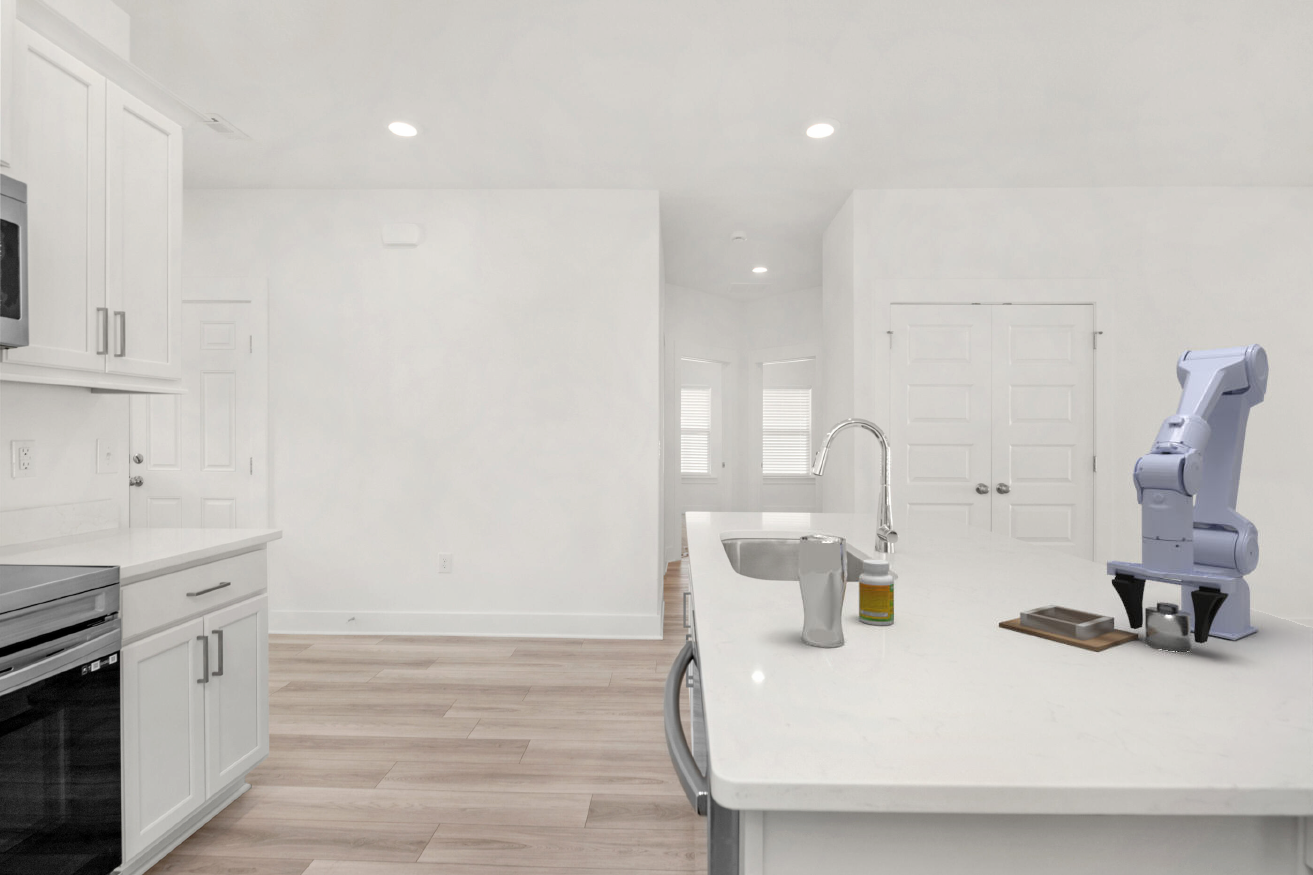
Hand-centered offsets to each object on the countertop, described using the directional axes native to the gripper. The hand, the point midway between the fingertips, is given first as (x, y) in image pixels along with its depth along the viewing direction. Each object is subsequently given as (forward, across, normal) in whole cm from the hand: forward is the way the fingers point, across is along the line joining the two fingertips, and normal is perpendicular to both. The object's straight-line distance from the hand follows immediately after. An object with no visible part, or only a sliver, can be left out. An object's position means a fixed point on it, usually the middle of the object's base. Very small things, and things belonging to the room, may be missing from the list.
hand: (1167, 634), depth 91 cm
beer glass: (+2, -27, -40) cm, 48 cm away
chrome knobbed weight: (+2, 0, 0) cm, 2 cm away
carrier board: (+2, -11, -5) cm, 12 cm away
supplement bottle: (+2, -30, -25) cm, 39 cm away
